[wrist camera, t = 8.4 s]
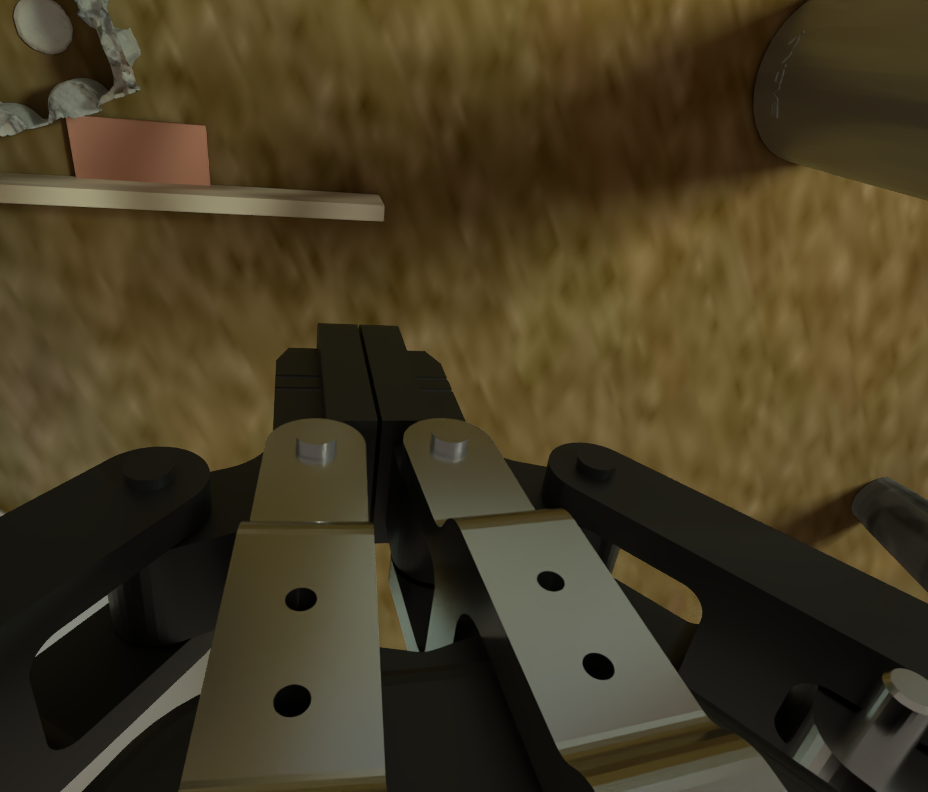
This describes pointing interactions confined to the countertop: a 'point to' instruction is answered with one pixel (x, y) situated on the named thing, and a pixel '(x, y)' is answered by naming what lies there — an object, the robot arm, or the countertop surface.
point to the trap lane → (166, 177)
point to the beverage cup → (896, 523)
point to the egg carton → (52, 35)
